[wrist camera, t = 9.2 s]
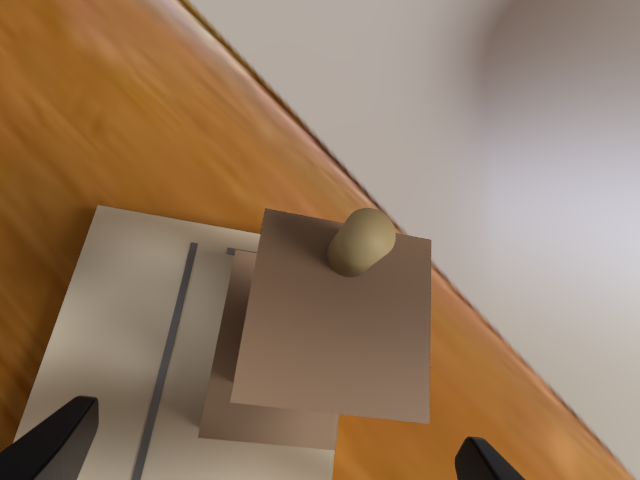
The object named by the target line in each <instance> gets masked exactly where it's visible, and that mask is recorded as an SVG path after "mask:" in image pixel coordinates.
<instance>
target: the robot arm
mask: <svg viewBox="0 0 640 480" xmlns="http://www.w3.org/2000/svg"><path fill="white" fill-rule="evenodd" d="M98 425H99V402H98V398H97V397H93V396H84V395H79V396H76V397H74V398H73V399H72V400H70V401H69V402H68V403H66V404H65V405H64V406H62V407H61V408H60V409H58V410H57V411H55V412H54V413H53V414H51V415H50V416H49V417H47V418H46V419H45V420H43V421H42V422H41V423H39V424H38V425H37V426H35V427H34V428H33V429H31V430H30V431H29V432H27V433H26V434H25V435H23V436H22V437H21V438H19V439H18V440H17V441H15V442H14V443H13V444H11V445H10V446H8V447H7V448H6V449H4V450H3V451H2V452H0V480H77V478H78V476H79V473H80V471H81V469H82V466H83V464H84V461H85V459H86V457H87V454H88V452H89V449H90V447H91V445H92V442H93V440H94V437H95V435H96V432H97V429H98ZM455 469H456V473H457V478H458V480H525V479H524V478H523V477H522V476H521V475H520V474H519V473H518V472H517V471H516V470H515V469H514V468H513V467H512V466H511V465H510V464H509V463H508V462H507V461H506V460H505V459H504V458H503V457H502V456H501V455H500V454H499V453H498V452H497V451H496V450H495V449H494V448H493V447H492V446H491V445H490V444H489V443H488V442H487V441H486V440H485V439H483V438H480V437H467V438H466V439H465V440H464V442H463V444H462V446H461V448H460V449H459V451H458V453H457V455H456V457H455Z"/></svg>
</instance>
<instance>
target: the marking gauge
mask: <svg viewBox="0 0 640 480" xmlns="http://www.w3.org/2000/svg"><path fill="white" fill-rule="evenodd" d="M430 318H431V240H429V239H424V238H418V237H413V236H408V235H403V234H397V233H395V229H394V226H393V224H392V222H391V221H390V219H389V218H388V217H387V216H386V215H385V214H383V213H382V212H380V211H378V210H376V209H371V208H363V209H359V210H357V211H355V212H353V213H352V214H351V215H350V216H349V218H348V219H347V220H346V222H345V223H339V222H334V221H329V220H324V219H318V218H313V217H308V216H303V215H297V214H292V213H287V212H282V211H276V210H271V209H266V208H265V212H264V218H263V223H262V229H261V234H260V240H259V245H258V251H257V253H252V252H246V251H241V250H236V251H235V256H234V261H233V266H232V271H231V276H230V281H229V285H228V290H227V295H226V300H225V305H224V310H223V315H222V320H221V325H220V330H219V335H218V340H217V344H216V349H215V354H214V359H213V364H212V369H211V374H210V379H209V384H208V389H207V394H206V399H205V403H204V408H203V413H202V418H201V423H200V428H199V433H198V438H205V439H216V440H227V441H237V442H248V443H259V444H270V445H281V446H292V447H303V448H314V449H325V450H336V441H337V429H338V418H339V414H342V415H351V416H361V417H370V418H379V419H389V420H398V421H407V422H416V423H426V424H429V421H430Z"/></svg>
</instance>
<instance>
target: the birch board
mask: <svg viewBox="0 0 640 480" xmlns="http://www.w3.org/2000/svg"><path fill="white" fill-rule="evenodd" d="M259 240H260V234H256V233H251V232H245V231H240V230H234V229H228V228H223V227H217V226H212V225H206V224H201V223H195V222H190V221H184V220H178V219H173V218H167V217H162V216H156V215H151V214H145V213H140V212H134V211H129V210H123V209H117V208H112V207H106V206H101V205H98V206H97V209H96V212H95V214H94V217H93V220H92V223H91V226H90V228H89V231H88V234H87V237H86V240H85V242H84V245H83V248H82V251H81V254H80V256H79V259H78V262H77V265H76V268H75V270H74V273H73V276H72V279H71V282H70V284H69V287H68V290H67V293H66V296H65V298H64V301H63V304H62V307H61V310H60V312H59V315H58V318H57V321H56V324H55V326H54V329H53V332H52V335H51V338H50V340H49V343H48V346H47V349H46V352H45V354H44V357H43V360H42V363H41V366H40V368H39V371H38V374H37V377H36V380H35V382H34V385H33V388H32V391H31V394H30V396H29V399H28V402H27V405H26V408H25V410H24V413H23V416H22V419H21V421H20V424H19V427H18V430H17V433H16V435H15V438H14V441H13V443H14V442H15V441H17V440H18V439H19V438H21V437H22V436H23V435H25V434H26V433H27V432H29V431H30V430H31V429H33V428H34V427H35V426H37V425H38V424H39V423H41V422H42V421H43V420H45V419H46V418H47V417H49V416H50V415H51V414H53V413H54V412H55V411H57V410H58V409H60V408H61V407H62V406H64V405H65V404H66V403H68V402H69V401H70V400H72V399H73V398H74V397H76V396H79V395H84V396H93V397H97V398H98V402H99V425H98V429H97V432H96V435H95V437H94V440H93V442H92V445H91V447H90V449H89V452H88V454H87V457H86V459H85V461H84V464H83V466H82V469H81V471H80V473H79V476H78V478H77V480H332V474H333V463H334V452H335V450H325V449H314V448H303V447H292V446H281V445H270V444H259V443H248V442H237V441H227V440H216V439H205V438H198V433H199V428H200V423H201V418H202V413H203V408H204V403H205V399H206V394H207V389H208V384H209V379H210V374H211V369H212V364H213V359H214V354H215V349H216V344H217V340H218V335H219V330H220V325H221V320H222V315H223V310H224V305H225V300H226V295H227V290H228V285H229V281H230V276H231V271H232V266H233V261H234V256H235V251H236V250H241V251H246V252H252V253H257V251H258V245H259Z"/></svg>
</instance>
